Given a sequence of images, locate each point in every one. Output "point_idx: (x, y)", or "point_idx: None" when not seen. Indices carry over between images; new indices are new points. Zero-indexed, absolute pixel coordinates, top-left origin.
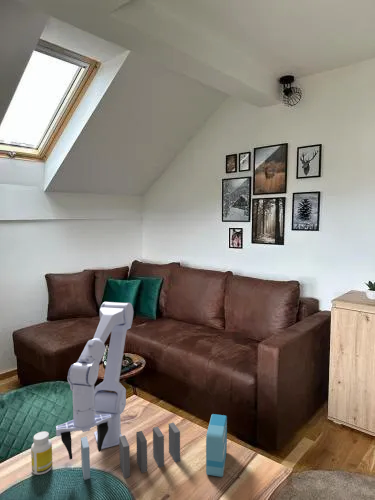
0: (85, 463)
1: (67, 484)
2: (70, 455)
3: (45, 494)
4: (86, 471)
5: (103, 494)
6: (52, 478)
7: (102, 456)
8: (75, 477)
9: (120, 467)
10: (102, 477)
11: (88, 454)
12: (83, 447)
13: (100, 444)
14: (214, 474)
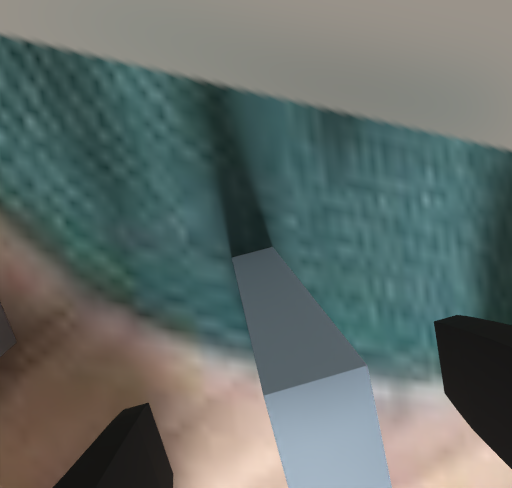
0: (282, 284)
1: (380, 223)
2: (490, 326)
3: (507, 158)
4: (263, 266)
5: (112, 70)
6: (476, 295)
7: None
8: (334, 281)
9: (5, 326)
10: (141, 250)
11: (262, 330)
12: (363, 389)
13: (90, 469)
14: None
